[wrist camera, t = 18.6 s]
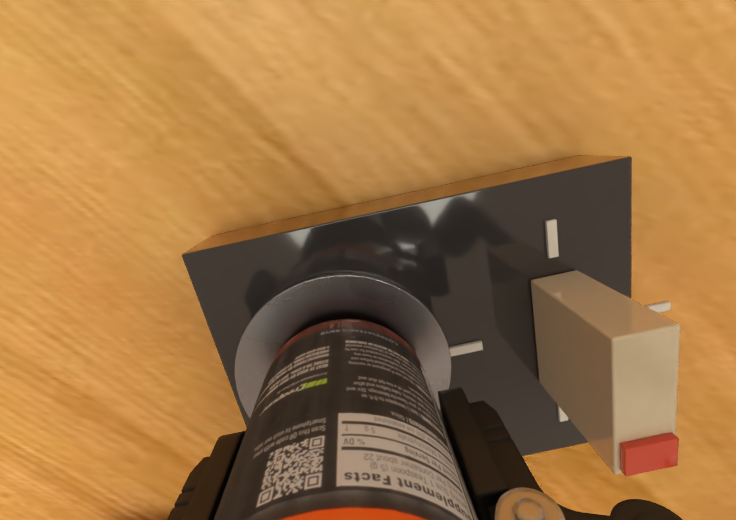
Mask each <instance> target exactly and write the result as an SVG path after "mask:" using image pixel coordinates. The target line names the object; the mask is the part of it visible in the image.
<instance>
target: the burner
mask: <svg viewBox="0 0 736 520" xmlns="http://www.w3.org/2000/svg"><path fill="white" fill-rule="evenodd" d="M340 319H359V320H364V321H369V322H372V323H375V324H378V325H381V326H383V327H385V328H387V329H389V330H391V331H393V332H394V333H395V334H397V335H398V336H400V337H401V338H402V339H403V340H404V341H406V342H407V343H408V345H409V346H410V347H411V348H412V349H413V350H414V352H415V353H416V355H417V357H418V359H419V360H420V363H421V365H422V367H423V369H424V372H425V374H426V376H427V378H428V381H429V384H430V387H431V390H432V392H433V395H434V398H435V401H436V403H437V406H438V409H439V411H440V404H439V398H438V391H442V390H447V389H449V386H450V381H451V371H452V364H451V354H450V349H449V345H448V342H447V339H446V337H445V334H444V332H443V330H442V328H441V326H440V324H439V323H438V321H437V319H436V318H435V316H434V315H433V314H432V312H431V311H430V310H429V309H428V307H427V306H426V305H425V304H424V303H422V302H421V301H420V300H419V299H418V298H417V297H416V296H414V295H413V294H411V293H410V292H409V291H407V290H406V289H404V288H402V287H400V286H398V285H396V284H394V283H393V282H390V281H387V280H384V279H382V278H379V277H375V276H370V275H366V274H358V273H331V274H324V275H318V276H315V277H311V278H308V279H304V280H302V281H299V282H297V283H295V284H292V285H290V286H288V287H287V288H285V289H283V290H282V291H280V292H278V293H277V294H276V295H274V296H273V297H272V298H271V299H269V300H268V301H267V302H266V303H265V304H264V305H263V306H262V307H261V308H260V309H259V310H258V311H257V312H256V314H255V315H254V316H253V318H252V319H251V321H250V322H249V324H248V325H247V327H246V329H245V331H244V333H243V335H242V337H241V340H240V342H239V345H238V348H237V353H236V359H235V381H236V388H237V391H238V395H239V398H240V401H241V403H242V405H243V407H244V410H245V412H246V413H247V415H248V416H249V418H250V417H251V415H252V412H253V409H254V406H255V403H256V401H257V398H258V396H259V393H260V390H261V387H262V385H263V382H264V379H265V377H266V374H267V372H268V370H269V367H270V365H271V364H272V362H273V360H274V358H275V357H276V355H277V354H278V352H279V351H280V349H281V348H282V347H283V346H284V345H285V344H286V343H287V342H288V341H289V340H291V339H292V338H293V337H294V336H296V335H297V334H298V333H300V332H302V331H304V330H305V329H307V328H309V327H311V326H314V325H317V324H319V323H322V322H327V321H331V320H340Z"/></svg>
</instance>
